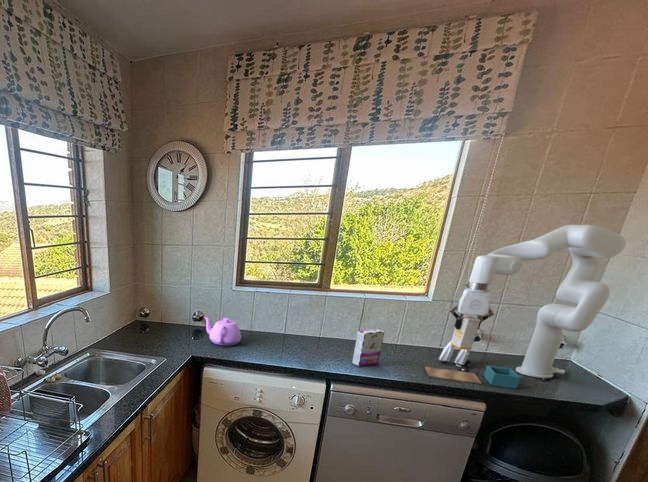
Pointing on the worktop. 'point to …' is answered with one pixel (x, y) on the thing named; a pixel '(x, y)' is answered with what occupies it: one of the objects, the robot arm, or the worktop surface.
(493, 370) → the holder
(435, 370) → the cork mat
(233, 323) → the teapot
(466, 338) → the supplement box
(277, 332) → the worktop surface
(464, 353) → the shaker set
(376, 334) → the candy bar box
